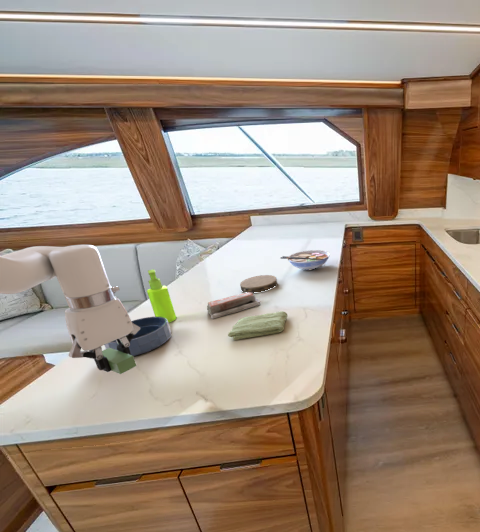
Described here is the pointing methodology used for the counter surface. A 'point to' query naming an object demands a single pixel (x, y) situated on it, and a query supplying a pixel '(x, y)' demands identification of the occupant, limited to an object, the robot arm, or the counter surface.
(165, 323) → the bowl
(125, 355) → the green bar
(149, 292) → the soap dispenser
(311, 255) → the ramen bowl
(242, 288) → the brown round disc
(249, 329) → the washcloth
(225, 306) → the packaged product
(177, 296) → the counter surface
